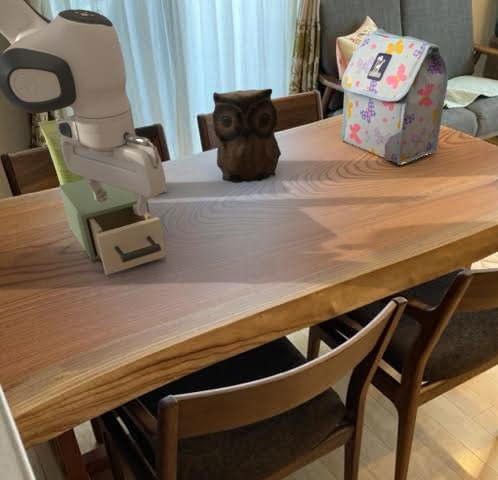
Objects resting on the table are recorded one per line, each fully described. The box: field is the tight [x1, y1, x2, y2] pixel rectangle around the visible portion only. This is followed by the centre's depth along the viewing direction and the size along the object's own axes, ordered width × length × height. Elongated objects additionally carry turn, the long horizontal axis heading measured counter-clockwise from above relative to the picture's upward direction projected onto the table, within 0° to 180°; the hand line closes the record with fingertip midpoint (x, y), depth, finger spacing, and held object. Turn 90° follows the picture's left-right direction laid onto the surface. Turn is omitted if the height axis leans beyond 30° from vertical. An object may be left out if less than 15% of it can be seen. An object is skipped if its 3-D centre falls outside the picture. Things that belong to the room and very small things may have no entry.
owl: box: [212, 88, 282, 184], centre depth 123 cm, size 13×13×20 cm
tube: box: [38, 118, 85, 185], centre depth 111 cm, size 6×5×20 cm
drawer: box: [86, 206, 166, 276], centre depth 99 cm, size 18×11×8 cm, turn 31°
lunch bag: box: [340, 28, 449, 166], centre depth 131 cm, size 22×17×26 cm
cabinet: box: [58, 179, 150, 262], centre depth 106 cm, size 15×13×10 cm
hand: (120, 207), depth 94 cm, fingers open, 8 cm apart
